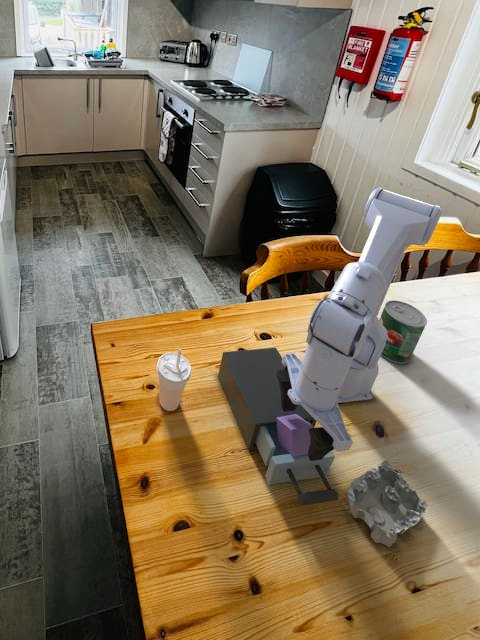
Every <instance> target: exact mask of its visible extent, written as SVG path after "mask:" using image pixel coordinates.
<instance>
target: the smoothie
mask: <svg viewBox="0 0 480 640" xmlns="http://www.w3.org/2000/svg"><path fill="white" fill-rule="evenodd" d="M156 372H157V375H158V395H159V396H158V398H159V406H161V408H162V409H164V410H165V411H167V412H173V411H175V410H177V409H178V407H179V404H180V402H181V399H182V396H183V394H184V390H185V388H186V386H187V383H188V382H189V380H190V378H191V376H192V366H191V364H190V361H189V360H188V358H186V357H185V356H184V355H182V348H178V349H177V352H166V353H163V354H162V355H161V356H159V358H158V360H157V364H156Z"/></svg>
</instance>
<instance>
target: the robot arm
mask: <svg viewBox="0 0 480 640" xmlns="http://www.w3.org/2000/svg"><path fill="white" fill-rule="evenodd" d="M442 213H443V210H442V209H441V206H439V205H433V204H430V203H427V202H423V201H421V200H417V199H414V198H411V197H408V196H405V195H402V194H398V193H396V192H392V191H390V190H386V189H384V188H382V187H377V188H375V189H373V191H372V192H371V193H370V195H369V197H368V199H367V202H366V204H365V207H364V209H363V215H362V216H363V218H364V225H365V226H366V227H367V228H368V229H369V230H370V232H369V235H368V237H367V240H366V242H365V245H364V247H363V250H362V251H361V255H360V256H359V259H358V261H355V262H349V263H347V264H345V266H344V268H343V269H342V271H341V273H340V275H339V276H338V278H337V279H336V281H335V283H334V285H333V287H332V288H331V291H330V292H329V294H328V296H327V297H326V299H324V298H321V299H320V301H319V302H318V303H317V304H316V305H315V307H314V309H313V311H312V313H311V316H310V318H309V322H308V325H307V336H306V339H305V342H306V343H307V345H306V349H305V351H304V354H303V358H302V360H301V359H300V358H299V357H298V356H297V354H296V353H295V352H290V353H283V355H282V358H283V359H282V364H283V365H284V366H285V368H284V370H278V371H277V373H276V376H277V378H278V381H279V385H280V390H281V405H282V410H283V411H284V412H285V411H294V410H295V409H296V408H297V406H298V404H299V405H301V406H302V407H303V408H304V409H305V410H306V411H307V412H308V413H309V414H310V415H311V416H312V417H313V418H314V419H315V420H316V421H317V422H316V423H318V424H319V425H320V426H317V427H314V428H309V430H308V431H309V433H310V446H309V450H308V457H309V459H310V461H314V460H321V459H323V457H324V456H325V455H327V454H328V453H329V452H330V451H332V452H333V450H335V452H336V453H341V452H347V451H350V450H351V447H352V444H353V439H352V437H351V434H349V432H348V430H347V427H346V423H345V421H344V418H343V415H342V412H341V411H342V410H341V409H340V405H339V404H340V403H350V402H359V401H367V400H372V399H373V395H372V394H371V391H372V388H373V387H374V384H375V382H376V379H377V377H378V375H379V363H378V362H379V360H380V358H381V357H382V356H381V353H382V351H383V349H384V347H385V344H386V343H385V342H386V340H387V337H388V334H387V333H388V332H387V330H386V329H385V327H384V326H383V325H382V323H381V322H380V321H379V319H380V318H378V315H379V312H380V310H381V308H382V305H383V303H384V300H385V298H386V295H387V294H388V291H389V289H390V287H391V284H392V281H393V280H394V277H395V274H396V272H397V270H398V267H399V265H400V262H401V260H402V258H403V256H404V253H405V251H406V250H407V249H408V248H410V247H411V246H412V245H414V246H421V247H425V245H427V244H429V241H430V240H431V238H432V236H433V234H434V233H435V230H436V227H437V226H438V223H439V221H440V218H441V216H442Z"/></svg>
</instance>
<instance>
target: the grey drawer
mask: <svg viewBox="0 0 480 640" xmlns="http://www.w3.org/2000/svg"><path fill="white" fill-rule="evenodd" d="M307 422H308V423H310V421H307ZM310 424H311V423H310ZM255 443H256V445H257V447H258V449H257V450H258V453H259V454H260V456H261V459H262V461H263V463H264V465H265V467H267V466H268V467H267V470H266V474H265V476H264V478H265V479H266V482H267V485H275V484H282V483H289V482H291V484H292V486H293V488H294V490H295V492H296V499H297V502H298V504H299V505H300V506H301V507H304V506H310V505H317V504H323V503H330V502H331V503H332V502H336V501H339V498H340V497H339V492H338V491H337V490H336V488H333V487H332V486H331V485H332V484H330V481H329V479H328V478H327V476H328V474H329V472H330V469H331V468H332V465H333V462H334V460H335V458H336V455H335V453H334V452H333V450H332V451H330V452H329V453H328V454H327V455H325V456H324V457H323V459H321V460H314V461H310V459H309V457H308V454H304V455H300V456H295V457H294V456H293V455H291V454H290V453H289V452H288V451H287V450H286V449H285V448H284V447H283V446H281V445H280V444H279V443H278V432H277V424H276V425H268V426H260V427H259V429H258V433H257V436H256V440H255ZM317 478H320V479H321V481H322V482H323V485H324V487H325V489H321V490H314V491H307V492H303V491H302V489H301V487H300V485H299V483H298V481H303V480H310V479H317Z"/></svg>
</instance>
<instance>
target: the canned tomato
mask: <svg viewBox="0 0 480 640" xmlns="http://www.w3.org/2000/svg"><path fill="white" fill-rule="evenodd" d="M378 319H379V321H380V322H381V323H382V325H383V326H384V327H385V329H386V330H387V332H388V333H387V334H388V337H387V340H386V342H385V343H386V344H385V347H384V349H383V351H382V353H381V356H380V357H382V358H383V359H385V360H387V361H389V362H391V363H394V364H399V365H402V364H407V363H409V362H410V361H411V358H412V356H413V354H414V352H415V349H416V347H417V345H418V343H419V341H420V339H421V337H422V334H423V332H424V330H425V328H426V326H427V324H428V319H427V317H426V316H425V314H424V313H423V312H421V310H419V309H418V308H416V307H415V306H413V305H412V304H409V303H407V302H404V301H401V300H394V299H392V300H388V301H386V302H385V304H384V307H383V309H382V312H381V315H380V317H379V318H378Z"/></svg>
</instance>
